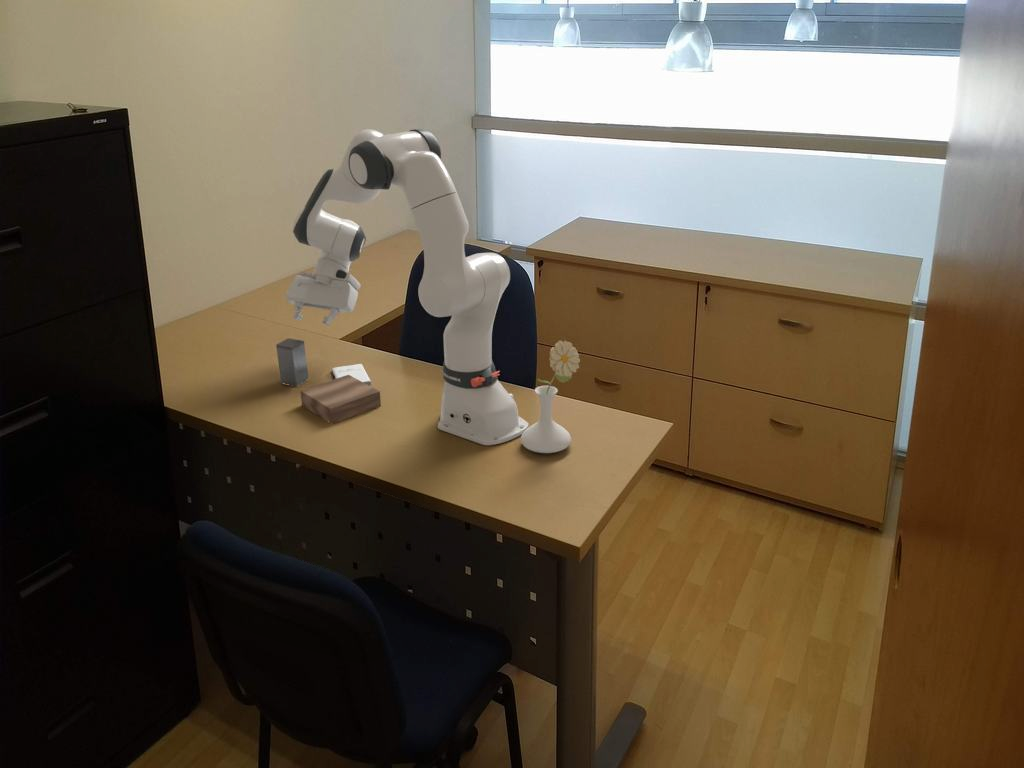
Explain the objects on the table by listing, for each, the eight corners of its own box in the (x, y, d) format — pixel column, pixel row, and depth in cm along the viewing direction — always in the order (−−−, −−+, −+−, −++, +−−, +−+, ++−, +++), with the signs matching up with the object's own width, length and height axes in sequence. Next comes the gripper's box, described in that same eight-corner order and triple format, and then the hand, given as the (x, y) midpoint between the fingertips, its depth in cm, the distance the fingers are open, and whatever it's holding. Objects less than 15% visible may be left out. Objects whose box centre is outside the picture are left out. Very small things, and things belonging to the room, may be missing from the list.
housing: (308, 379, 228) (303, 340, 223) (296, 386, 224) (291, 347, 219) (293, 376, 230) (288, 338, 225) (281, 383, 226) (276, 344, 221)
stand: (380, 405, 213) (379, 391, 211) (332, 423, 204) (330, 408, 203) (349, 388, 222) (348, 374, 221) (301, 405, 214) (300, 390, 212)
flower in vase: (529, 461, 187) (529, 355, 177) (514, 437, 197) (513, 336, 187) (585, 452, 191) (588, 348, 180) (567, 429, 200) (570, 329, 190)
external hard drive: (340, 391, 222) (332, 372, 233) (371, 386, 225) (362, 368, 235) (339, 385, 222) (331, 367, 232) (371, 380, 224) (361, 363, 235)
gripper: (292, 266, 234) (273, 311, 230) (355, 275, 226) (336, 321, 222) (304, 277, 240) (286, 321, 236) (365, 286, 232) (348, 332, 228)
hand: (311, 321), depth 229 cm, fingers open, 8 cm apart
